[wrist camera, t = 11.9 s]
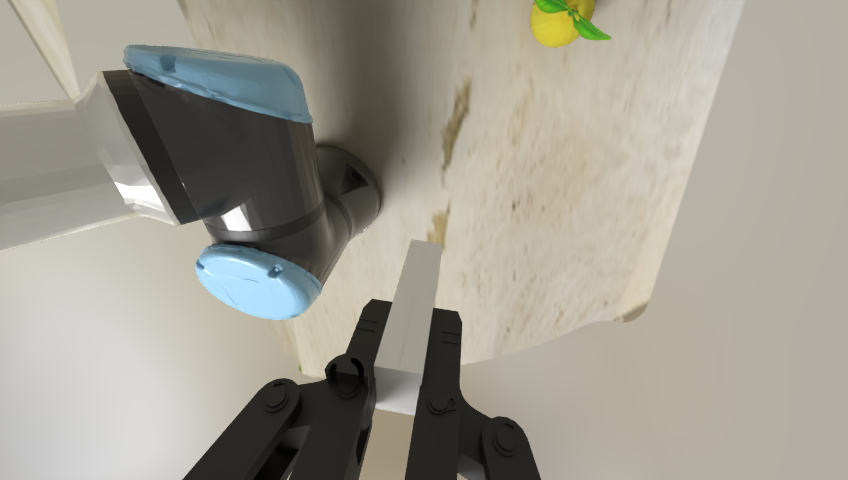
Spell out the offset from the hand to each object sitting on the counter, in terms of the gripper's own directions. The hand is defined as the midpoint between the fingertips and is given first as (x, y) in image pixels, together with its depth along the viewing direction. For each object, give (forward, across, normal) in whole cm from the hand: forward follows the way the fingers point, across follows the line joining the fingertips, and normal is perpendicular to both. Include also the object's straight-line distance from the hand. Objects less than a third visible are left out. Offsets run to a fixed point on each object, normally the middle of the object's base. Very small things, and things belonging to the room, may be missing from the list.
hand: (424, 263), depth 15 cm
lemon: (+31, +9, +11) cm, 34 cm away
